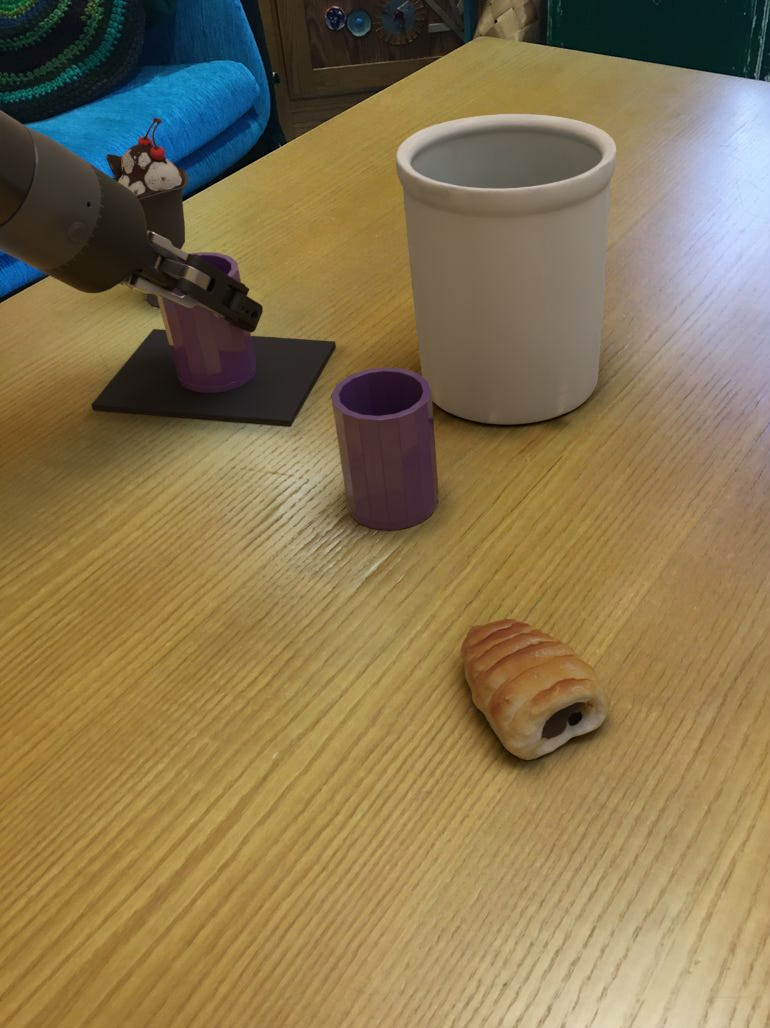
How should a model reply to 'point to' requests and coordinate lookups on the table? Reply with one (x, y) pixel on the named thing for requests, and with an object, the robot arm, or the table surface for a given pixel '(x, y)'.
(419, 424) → the purple tumbler
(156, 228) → the sundae
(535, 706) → the pastry
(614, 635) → the table surface
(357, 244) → the table surface
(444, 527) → the table surface
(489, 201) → the utensil holder
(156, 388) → the mat
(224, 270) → the purple cup
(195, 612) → the table surface
